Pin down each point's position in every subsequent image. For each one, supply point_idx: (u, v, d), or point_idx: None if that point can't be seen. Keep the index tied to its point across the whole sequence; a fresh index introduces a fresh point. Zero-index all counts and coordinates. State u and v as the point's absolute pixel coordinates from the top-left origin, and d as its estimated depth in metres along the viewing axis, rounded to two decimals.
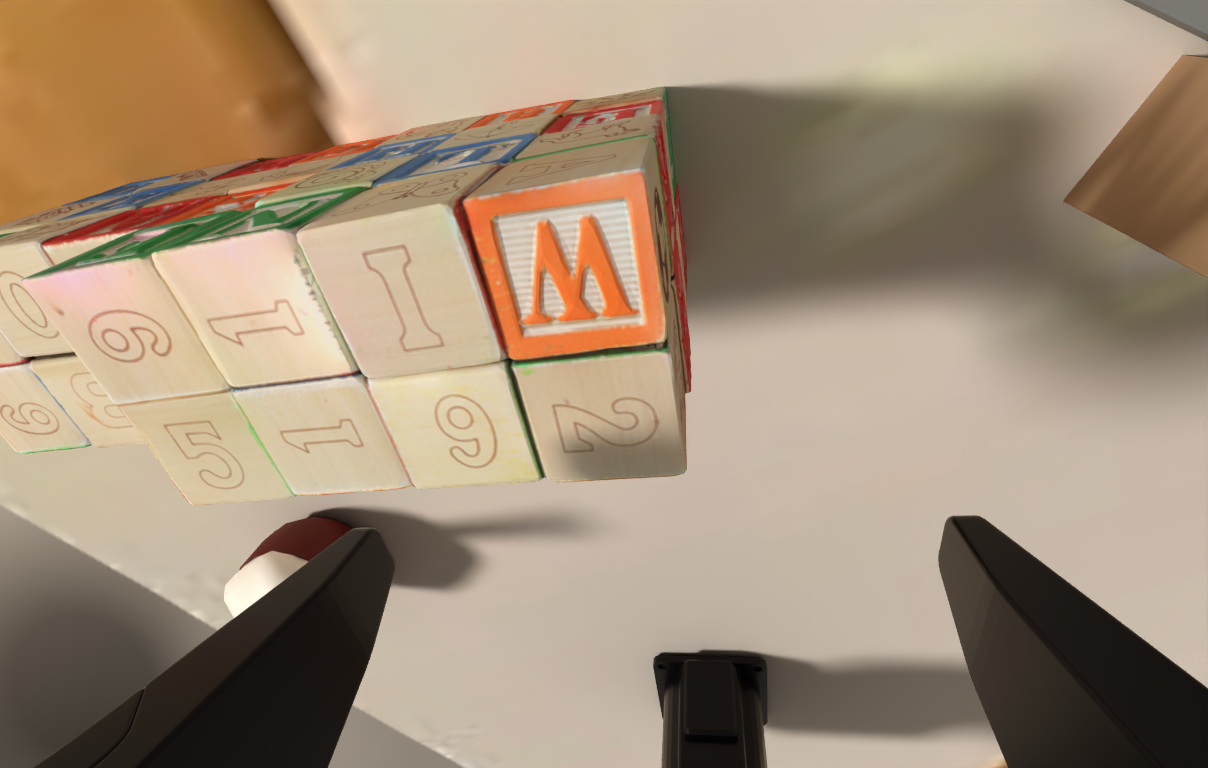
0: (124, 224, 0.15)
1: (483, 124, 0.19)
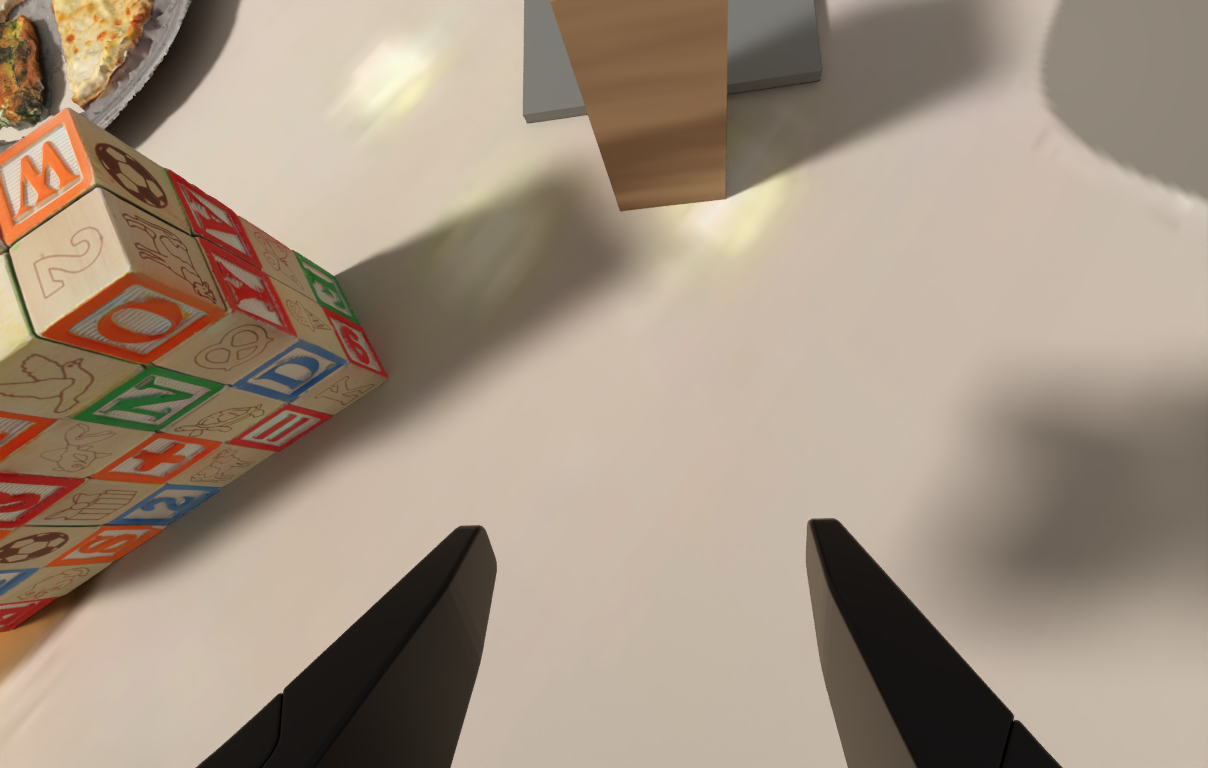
0: None
1: None
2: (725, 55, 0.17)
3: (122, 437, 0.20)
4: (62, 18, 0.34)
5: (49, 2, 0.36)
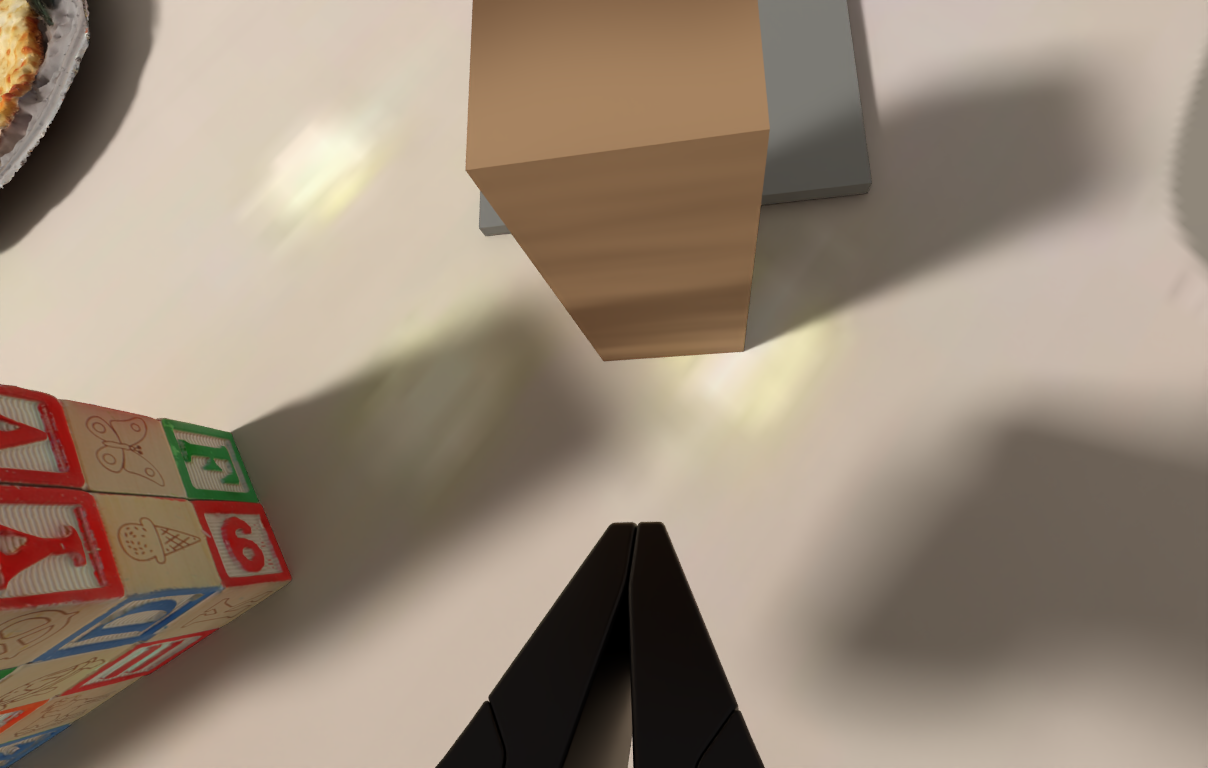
0: None
1: None
2: (755, 227, 0.11)
3: None
4: None
5: None
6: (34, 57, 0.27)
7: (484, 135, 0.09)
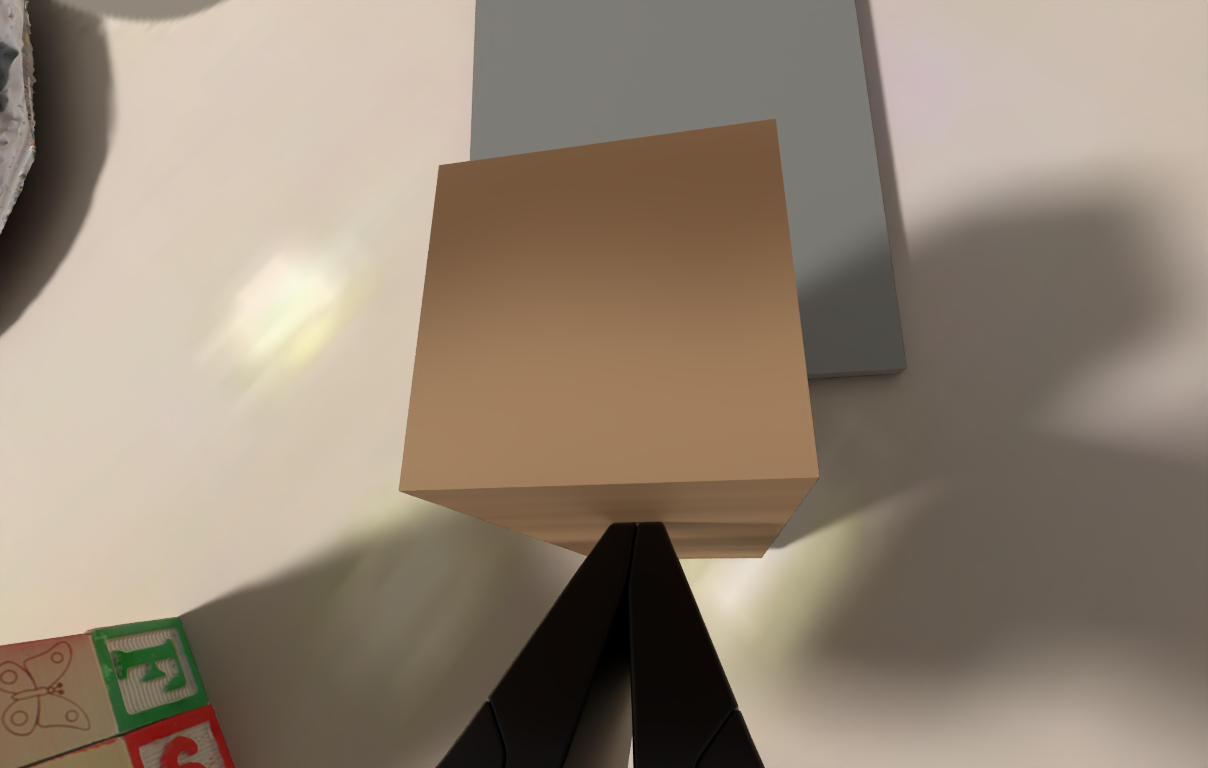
0: None
1: None
2: (787, 516, 0.08)
3: None
4: None
5: None
6: None
7: (427, 441, 0.07)
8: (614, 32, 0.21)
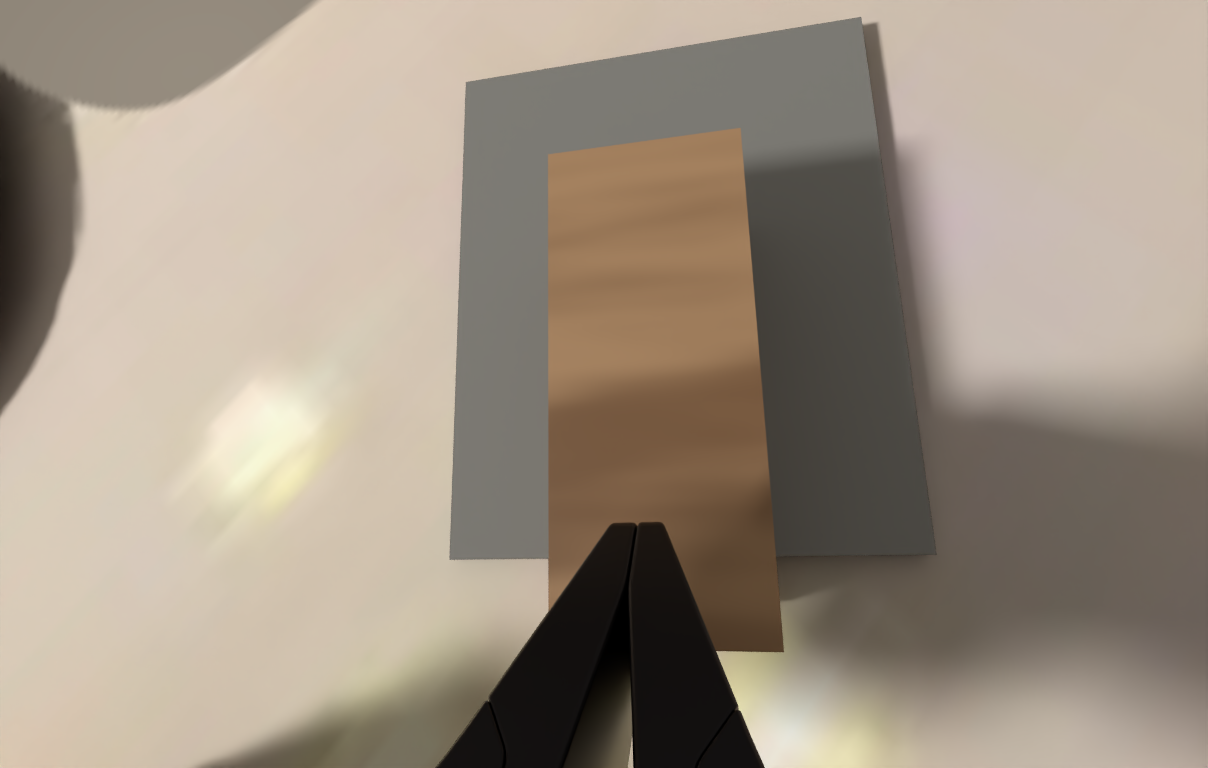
0: None
1: None
2: (747, 244, 0.13)
3: None
4: None
5: None
6: None
7: None
8: None
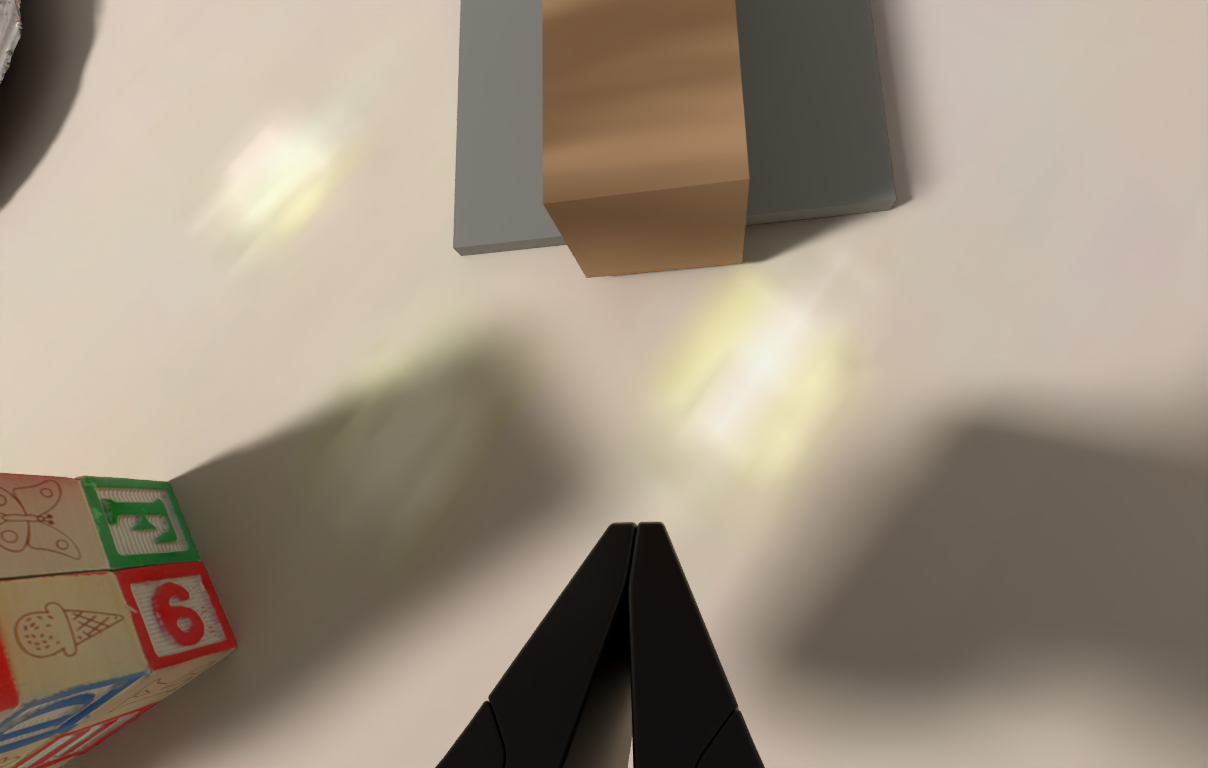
0: None
1: None
2: None
3: None
4: None
5: None
6: None
7: None
8: None
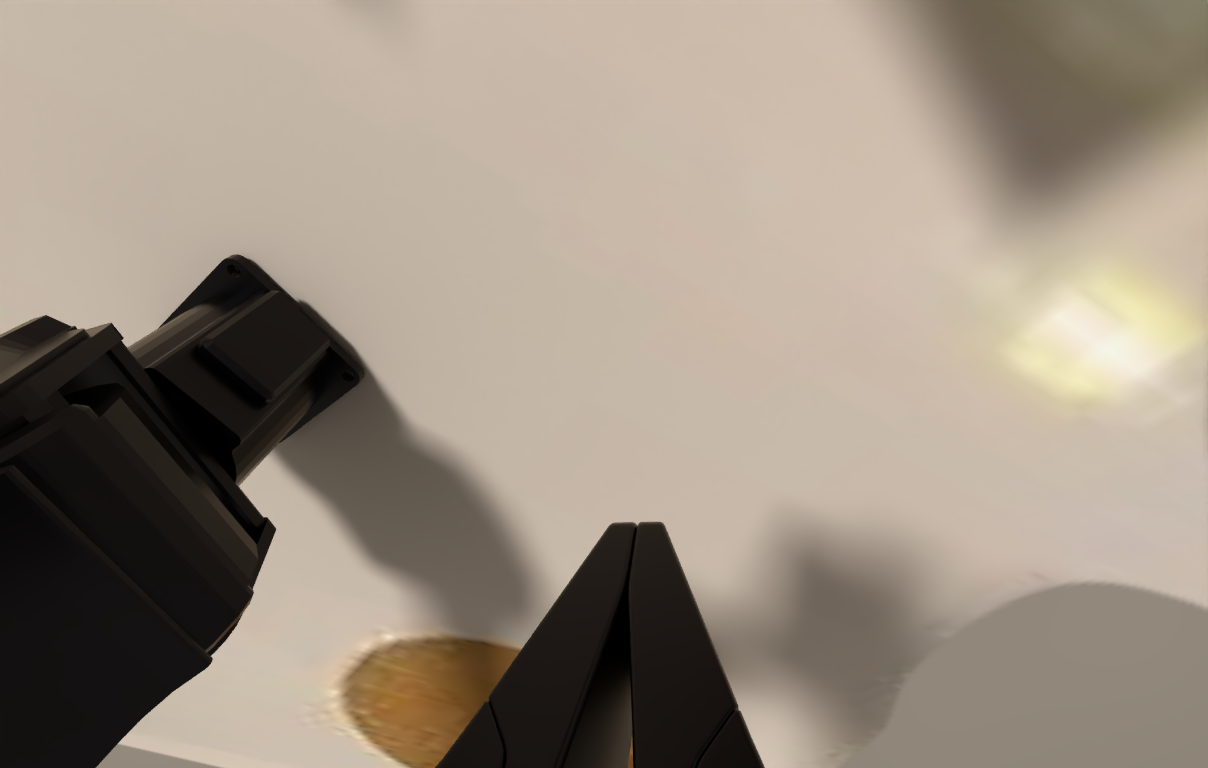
0: None
1: None
2: None
3: None
4: None
5: None
6: None
7: None
8: None
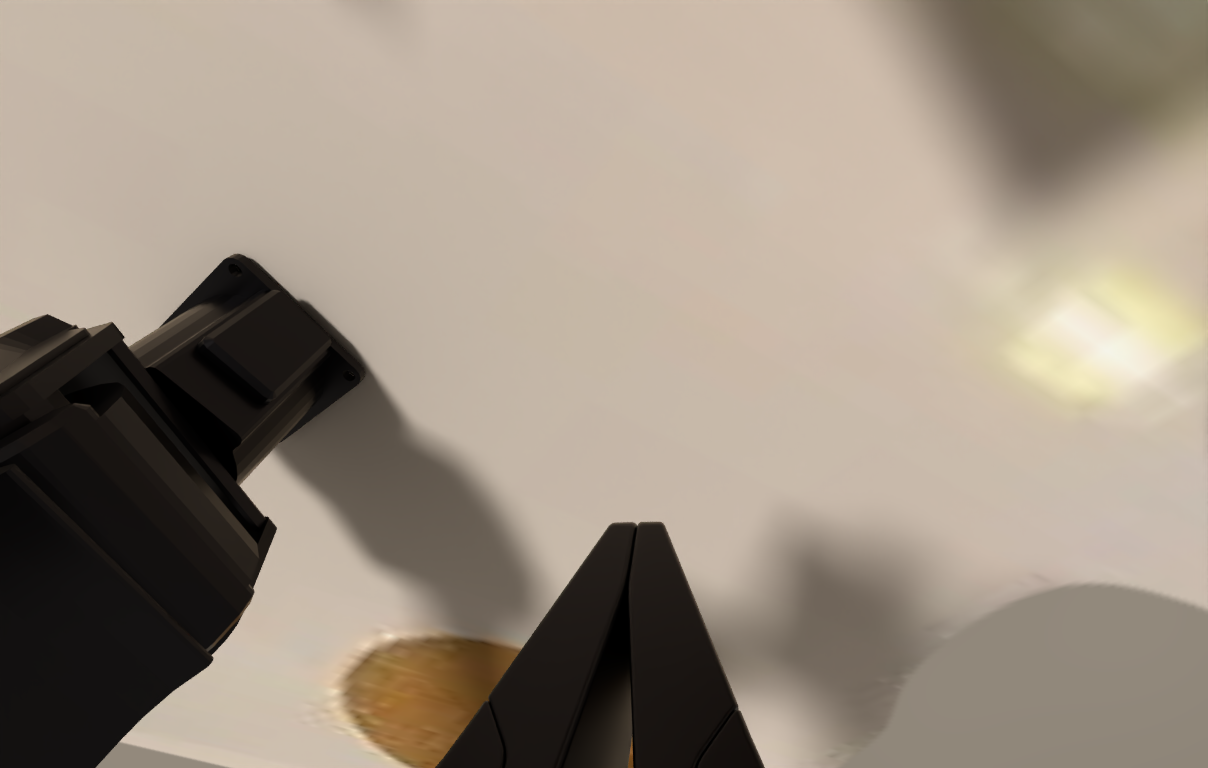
0: None
1: None
2: None
3: None
4: None
5: None
6: None
7: None
8: None
